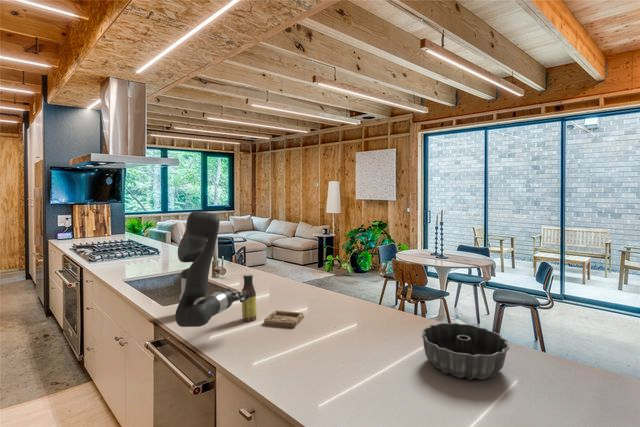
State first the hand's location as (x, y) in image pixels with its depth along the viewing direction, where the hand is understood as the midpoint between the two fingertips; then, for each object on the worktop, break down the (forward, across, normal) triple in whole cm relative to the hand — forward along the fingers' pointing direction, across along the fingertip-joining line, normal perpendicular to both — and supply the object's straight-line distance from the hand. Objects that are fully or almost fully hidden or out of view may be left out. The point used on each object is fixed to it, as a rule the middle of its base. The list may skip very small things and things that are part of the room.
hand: (238, 291), depth 152 cm
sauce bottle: (+11, 0, +15) cm, 19 cm away
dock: (+13, -15, +15) cm, 25 cm away
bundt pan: (-12, -86, +17) cm, 88 cm away
